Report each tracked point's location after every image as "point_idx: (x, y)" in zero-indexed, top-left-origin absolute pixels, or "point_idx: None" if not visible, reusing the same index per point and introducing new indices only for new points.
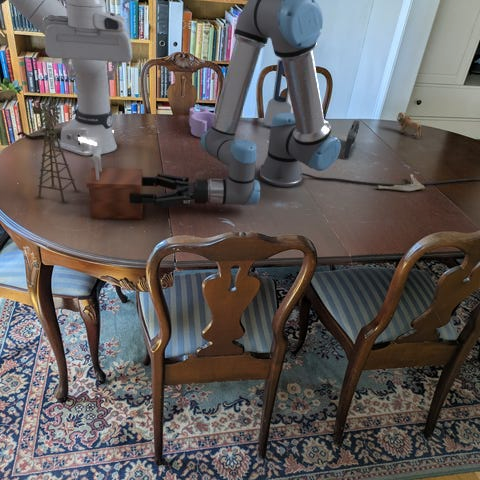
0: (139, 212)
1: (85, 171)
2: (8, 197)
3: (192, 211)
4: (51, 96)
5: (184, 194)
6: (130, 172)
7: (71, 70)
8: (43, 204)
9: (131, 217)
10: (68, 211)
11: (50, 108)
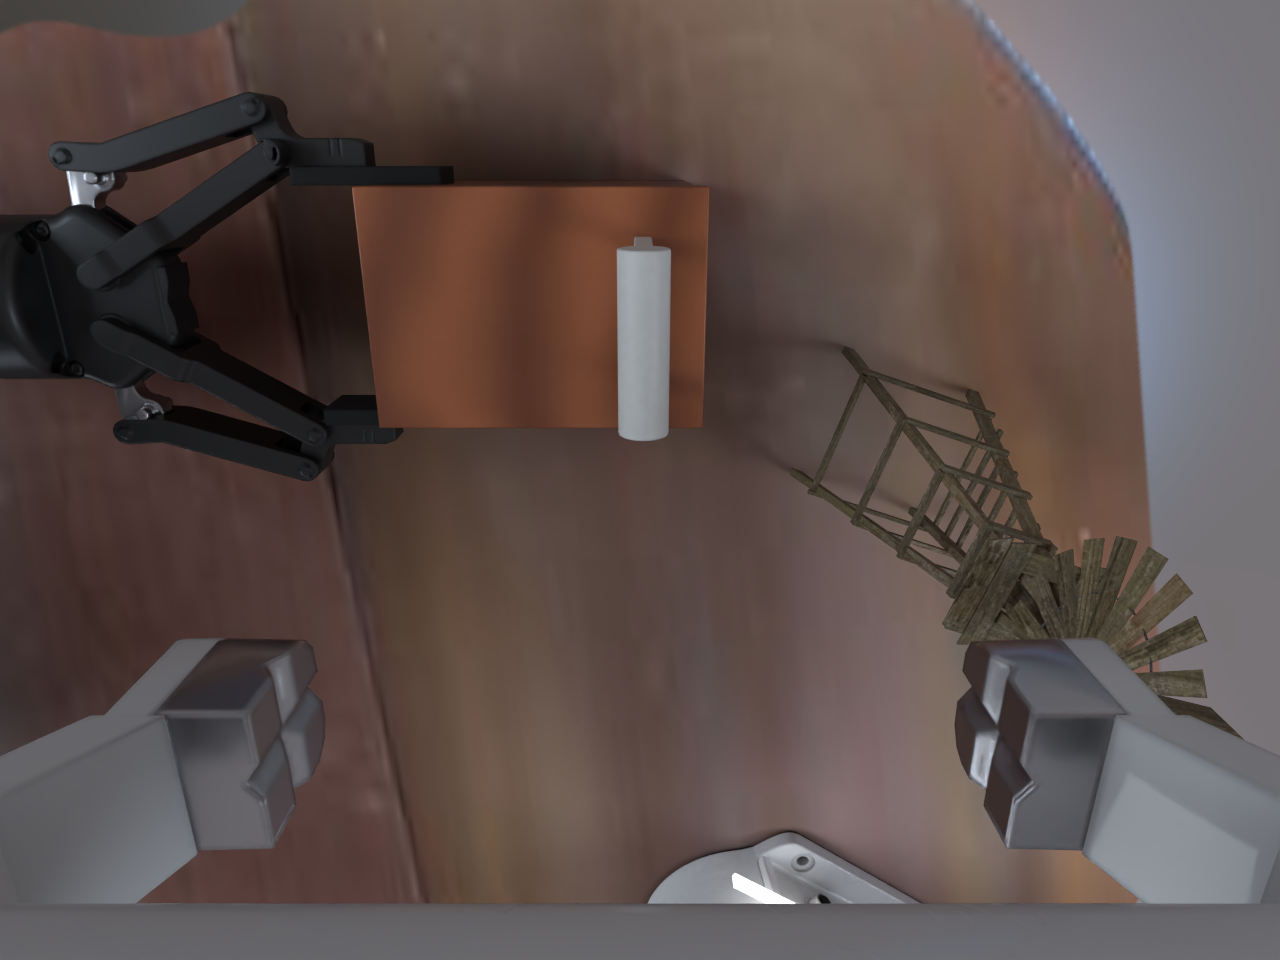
0: None
1: (769, 678)
2: (1122, 389)
3: None
4: None
5: (106, 218)
6: (447, 372)
7: (1090, 718)
8: (944, 323)
9: (470, 180)
10: (811, 252)
11: None
